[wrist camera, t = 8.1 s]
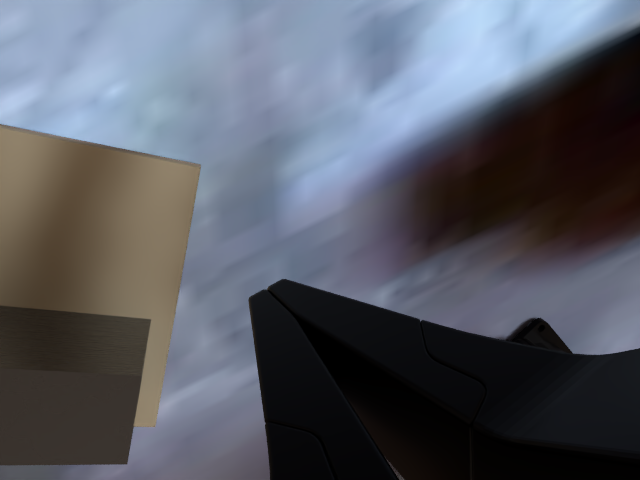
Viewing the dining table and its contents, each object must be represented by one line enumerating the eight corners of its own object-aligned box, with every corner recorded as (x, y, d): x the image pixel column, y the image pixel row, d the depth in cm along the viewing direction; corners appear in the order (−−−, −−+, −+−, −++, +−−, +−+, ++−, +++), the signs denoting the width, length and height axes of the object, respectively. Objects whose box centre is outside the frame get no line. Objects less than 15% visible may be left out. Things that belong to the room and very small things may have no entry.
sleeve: (151, 318, 21) (141, 375, 17) (139, 394, 22) (127, 464, 18) (-69, 299, 18) (-142, 361, 14) (-69, 386, 19) (-137, 466, 15)
